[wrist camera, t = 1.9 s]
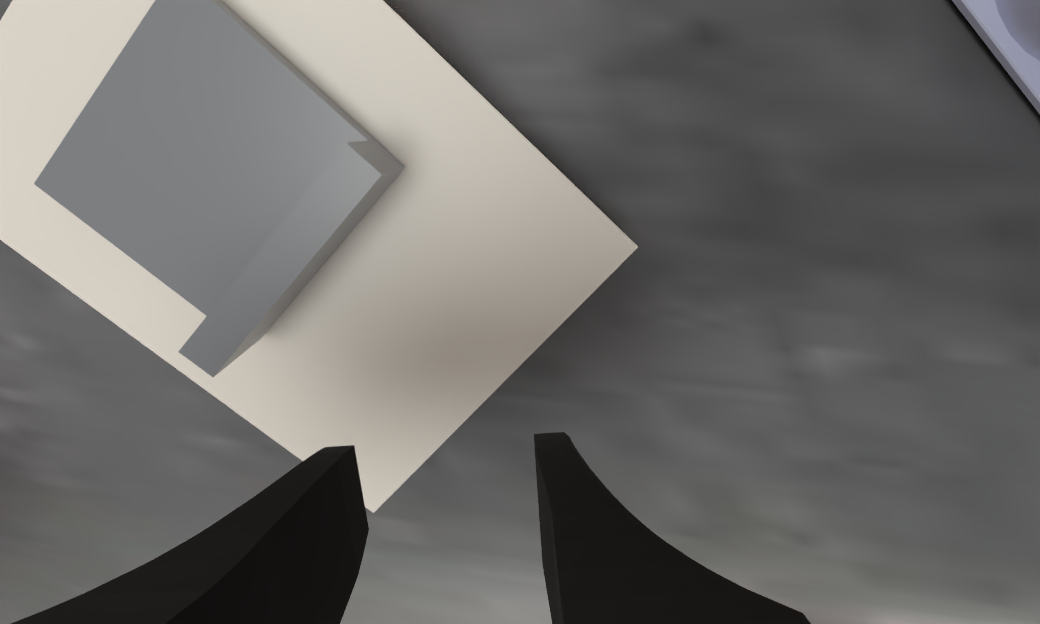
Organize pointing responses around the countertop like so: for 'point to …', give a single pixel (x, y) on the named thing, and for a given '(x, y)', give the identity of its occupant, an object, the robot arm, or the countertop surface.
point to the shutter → (217, 171)
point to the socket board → (363, 253)
